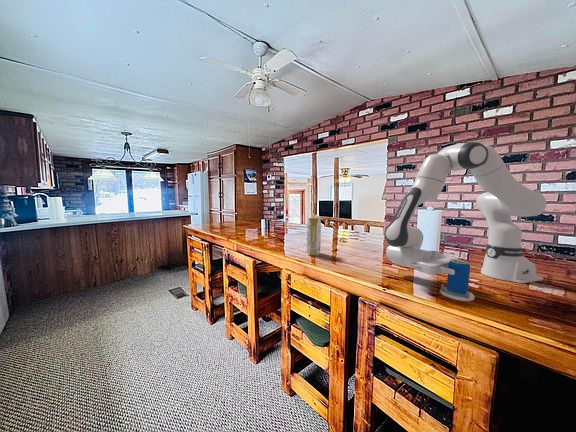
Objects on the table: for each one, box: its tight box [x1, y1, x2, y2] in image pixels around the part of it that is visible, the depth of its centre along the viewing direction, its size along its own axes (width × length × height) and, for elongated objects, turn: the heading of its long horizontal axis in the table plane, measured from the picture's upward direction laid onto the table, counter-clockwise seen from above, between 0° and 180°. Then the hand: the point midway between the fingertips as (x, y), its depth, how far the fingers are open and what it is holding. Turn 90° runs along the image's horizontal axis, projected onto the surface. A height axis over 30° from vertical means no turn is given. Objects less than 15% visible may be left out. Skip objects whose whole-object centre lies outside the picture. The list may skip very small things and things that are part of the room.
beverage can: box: [446, 258, 471, 295], centre depth 87 cm, size 6×6×12 cm
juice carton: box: [306, 214, 322, 257], centre depth 144 cm, size 9×8×24 cm
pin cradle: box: [439, 283, 476, 302], centre depth 88 cm, size 10×10×3 cm
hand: (461, 270), depth 86 cm, fingers open, 8 cm apart
